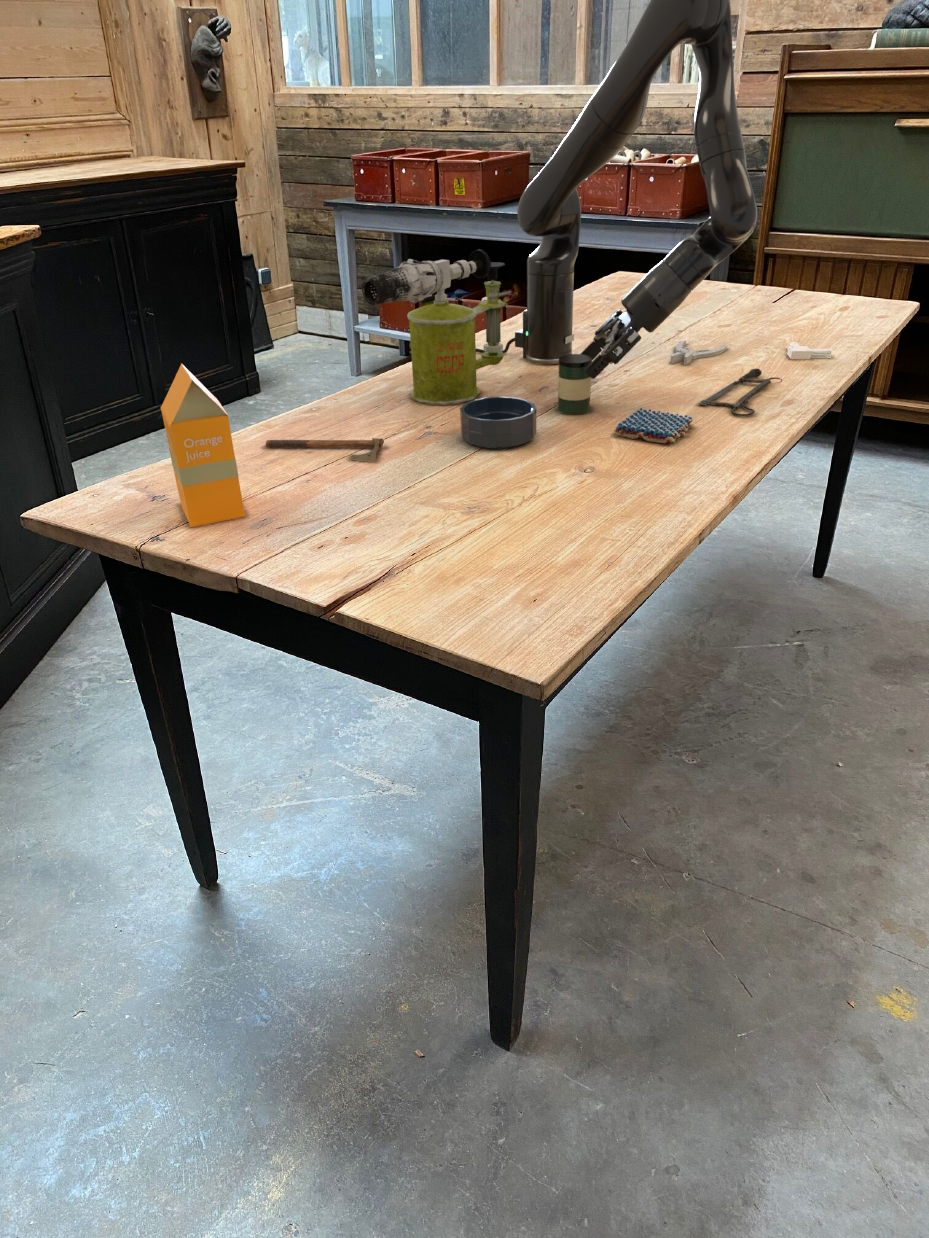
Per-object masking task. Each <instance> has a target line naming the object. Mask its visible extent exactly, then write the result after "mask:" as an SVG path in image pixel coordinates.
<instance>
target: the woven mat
mask: <svg viewBox="0 0 929 1238" xmlns="http://www.w3.org/2000/svg"><path fill="white" fill-rule="evenodd" d="M693 422H694V419H693V417H692V416H688V415H687V414H685V415H684V416H683V415H682V414H678V413H675V414H673V413H670V412H661V410H657V411H655V410H652V409H648V410H647V409H643V407H640V408H639V409H637V410H634V412H632V413H630V414H629V416H628V417H625V419H623V420H621V422H619V423H618V424H617V426H616V427H615V429H614V430H613V431H614V433H615V434H616V435H617V436H619V437H621V438H626V439H627V438H628V439H632V440H635V439H638V438H640V439H643V440H645V441H647V442H650V443H651V442H653V443H658V444H666V443H668V444H672V443H674V444H675V443H676V440H678V439H679V438H680V437H685V436H686V433H688V431H689V429H693V427H694V424H693Z"/></svg>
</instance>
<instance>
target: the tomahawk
mask: <svg viewBox="0 0 929 1238" xmlns="http://www.w3.org/2000/svg"><path fill="white" fill-rule="evenodd" d="M384 444H385V439H383V438H378V437H377V438H376V437H372V439H267V440H266V441H265V447H266V448H279V449H280V448H372V450H370V451H368V452H365V453H363V454H351V455H350V457H351V458H350V460H352V461H357V462H367V463H369V462H370V463H376V462H377V454H378V451H380V450H381V448H383V447H384Z"/></svg>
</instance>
